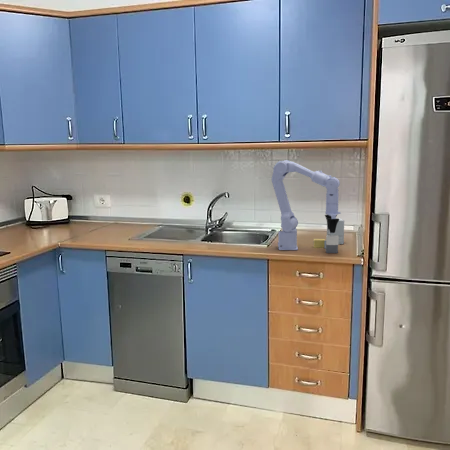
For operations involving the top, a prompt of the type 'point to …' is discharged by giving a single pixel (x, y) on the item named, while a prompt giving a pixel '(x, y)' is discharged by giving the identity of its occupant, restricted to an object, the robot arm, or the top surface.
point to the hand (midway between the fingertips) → (331, 231)
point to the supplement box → (338, 231)
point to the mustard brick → (318, 243)
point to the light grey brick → (332, 240)
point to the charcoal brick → (331, 248)
